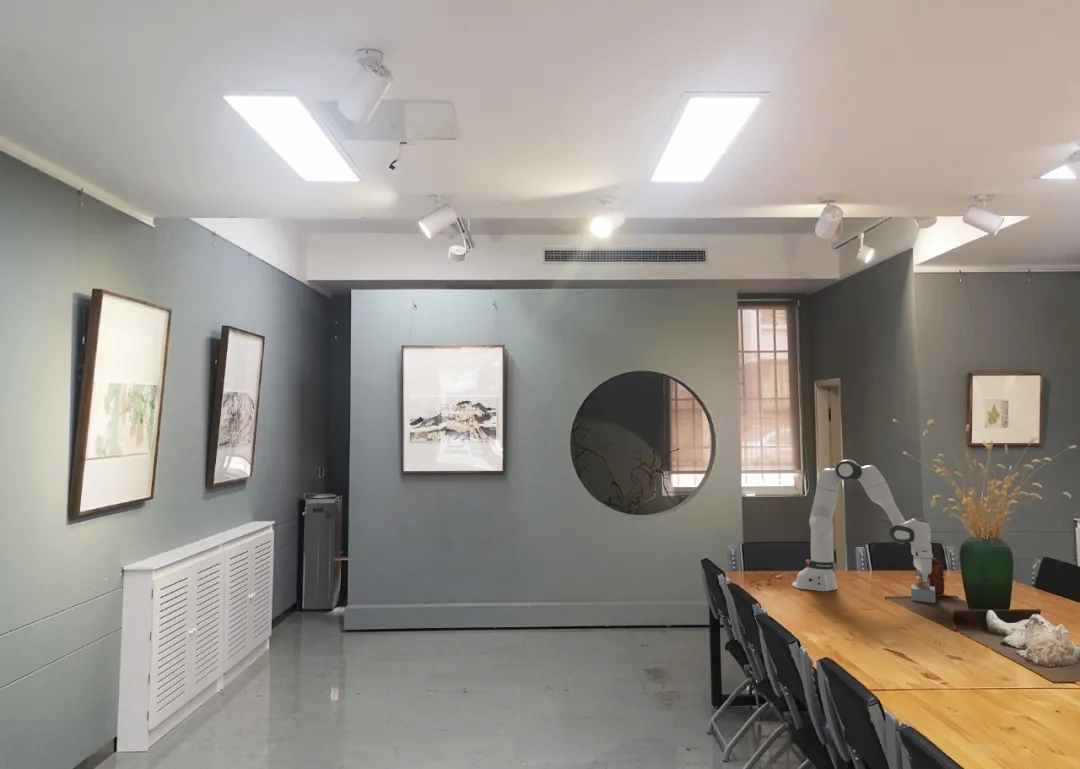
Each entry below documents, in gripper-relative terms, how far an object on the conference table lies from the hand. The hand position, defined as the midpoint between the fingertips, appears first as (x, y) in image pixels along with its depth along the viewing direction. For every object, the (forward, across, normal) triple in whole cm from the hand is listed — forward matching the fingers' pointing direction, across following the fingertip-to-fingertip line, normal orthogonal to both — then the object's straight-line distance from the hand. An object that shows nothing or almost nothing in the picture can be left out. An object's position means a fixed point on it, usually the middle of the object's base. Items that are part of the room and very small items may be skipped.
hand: (922, 579), depth 327 cm
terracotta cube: (+4, 0, 0) cm, 4 cm away
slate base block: (+10, 0, 0) cm, 10 cm away
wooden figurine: (+10, -17, +7) cm, 21 cm away
